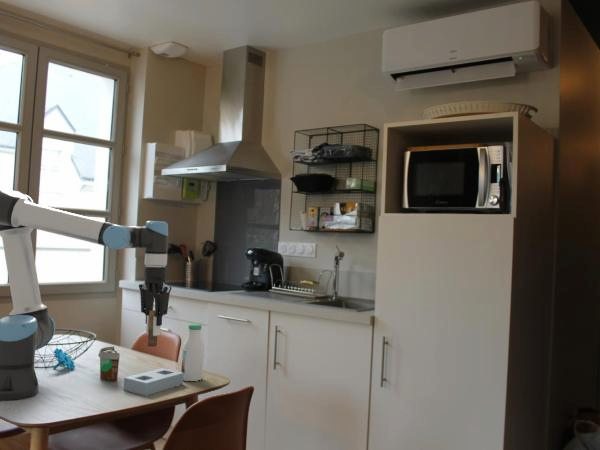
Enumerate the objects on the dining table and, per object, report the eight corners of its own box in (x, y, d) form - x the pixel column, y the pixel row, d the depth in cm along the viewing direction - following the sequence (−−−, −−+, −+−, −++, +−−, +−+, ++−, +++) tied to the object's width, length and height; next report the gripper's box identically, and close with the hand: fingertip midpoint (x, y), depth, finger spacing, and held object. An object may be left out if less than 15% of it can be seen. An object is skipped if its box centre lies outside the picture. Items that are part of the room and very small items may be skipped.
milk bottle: (205, 378, 204) (209, 324, 205) (196, 383, 197) (200, 326, 197) (186, 375, 206) (190, 321, 207) (176, 380, 199) (180, 324, 199)
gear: (69, 369, 199) (52, 347, 200) (56, 380, 198) (39, 359, 200) (81, 366, 210) (65, 346, 211) (69, 376, 209) (52, 356, 211)
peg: (152, 346, 188) (153, 311, 188) (145, 345, 189) (147, 310, 189) (158, 345, 190) (160, 310, 191) (152, 344, 192) (153, 309, 192)
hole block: (145, 395, 179) (146, 383, 179) (123, 389, 184) (124, 377, 184) (182, 384, 194) (183, 372, 194) (161, 379, 199) (162, 368, 199)
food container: (94, 374, 200) (96, 346, 200) (112, 373, 203) (114, 346, 203) (99, 383, 189) (101, 354, 189) (117, 382, 192) (119, 353, 192)
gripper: (180, 267, 190) (177, 335, 189) (147, 264, 198) (145, 330, 197) (164, 267, 183) (162, 339, 183) (131, 265, 191) (128, 333, 191)
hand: (153, 334), depth 190 cm, fingers closed on peg, 2 cm apart
